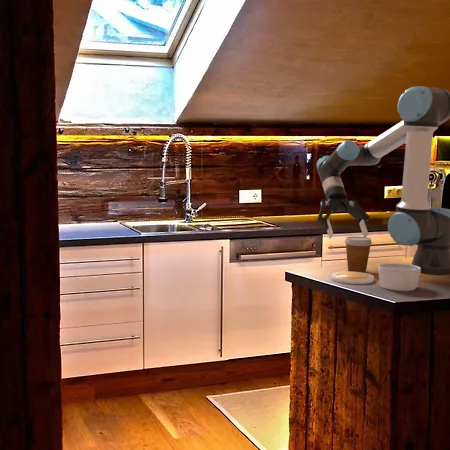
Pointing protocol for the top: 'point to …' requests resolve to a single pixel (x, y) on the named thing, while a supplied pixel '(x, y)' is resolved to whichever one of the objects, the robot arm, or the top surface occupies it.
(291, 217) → the top surface
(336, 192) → the robot arm
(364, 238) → the disposable coffee cup
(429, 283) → the top surface
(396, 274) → the ramekin
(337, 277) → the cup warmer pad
